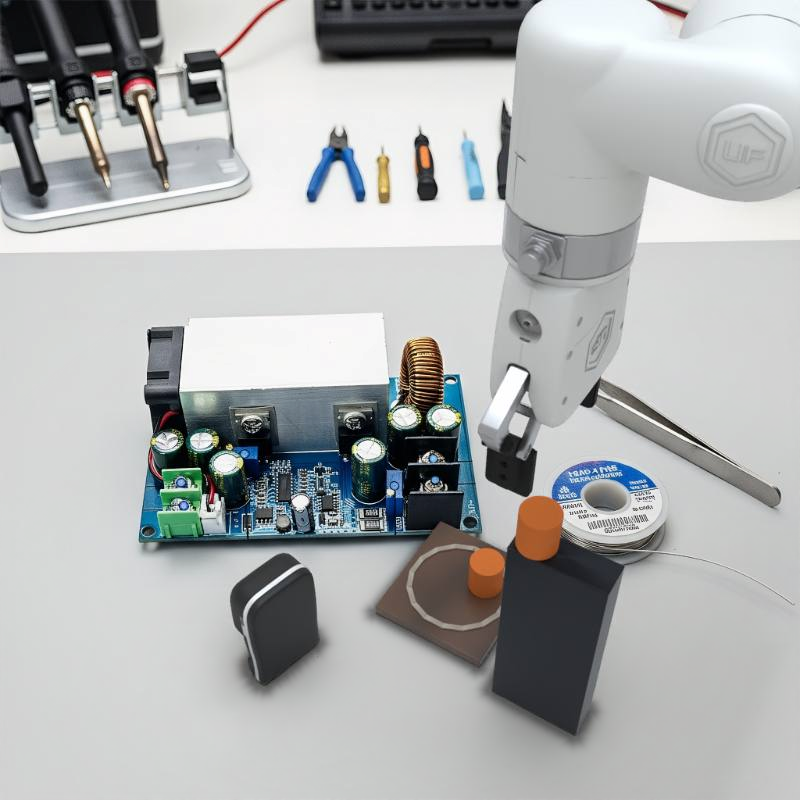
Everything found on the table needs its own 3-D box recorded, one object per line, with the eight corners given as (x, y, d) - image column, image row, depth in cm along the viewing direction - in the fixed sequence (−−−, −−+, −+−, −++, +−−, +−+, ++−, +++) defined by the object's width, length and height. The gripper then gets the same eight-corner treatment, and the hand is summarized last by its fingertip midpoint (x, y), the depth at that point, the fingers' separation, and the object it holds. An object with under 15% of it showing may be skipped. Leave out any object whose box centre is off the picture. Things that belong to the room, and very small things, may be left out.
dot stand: (590, 708, 85) (625, 565, 71) (575, 736, 83) (608, 595, 69) (507, 665, 88) (525, 520, 74) (491, 691, 86) (506, 547, 72)
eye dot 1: (508, 580, 93) (510, 557, 91) (492, 604, 92) (494, 581, 89) (478, 565, 95) (480, 542, 92) (461, 589, 93) (463, 566, 90)
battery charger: (296, 615, 92) (285, 538, 84) (323, 641, 90) (315, 563, 82) (236, 662, 88) (219, 585, 81) (262, 689, 86) (248, 613, 79)
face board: (539, 573, 95) (540, 566, 94) (479, 667, 88) (479, 660, 87) (440, 527, 99) (440, 519, 99) (375, 612, 92) (374, 605, 91)
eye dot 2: (566, 537, 73) (571, 506, 71) (547, 567, 71) (551, 536, 69) (527, 520, 74) (531, 489, 72) (507, 549, 72) (510, 518, 70)
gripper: (563, 333, 49) (533, 550, 60) (690, 177, 59) (644, 388, 71) (432, 284, 52) (428, 500, 63) (575, 144, 62) (549, 351, 74)
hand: (542, 440), depth 67 cm, fingers open, 9 cm apart
